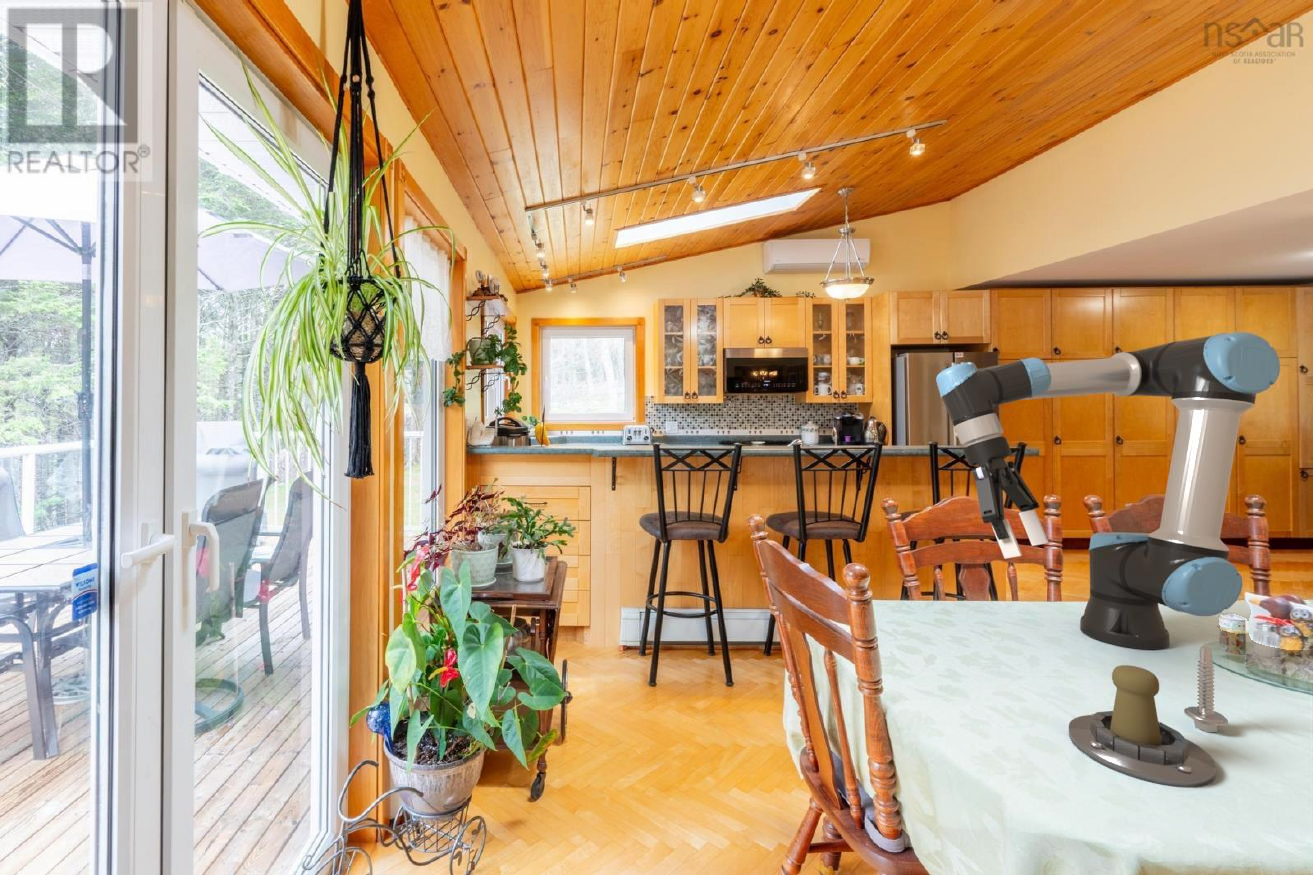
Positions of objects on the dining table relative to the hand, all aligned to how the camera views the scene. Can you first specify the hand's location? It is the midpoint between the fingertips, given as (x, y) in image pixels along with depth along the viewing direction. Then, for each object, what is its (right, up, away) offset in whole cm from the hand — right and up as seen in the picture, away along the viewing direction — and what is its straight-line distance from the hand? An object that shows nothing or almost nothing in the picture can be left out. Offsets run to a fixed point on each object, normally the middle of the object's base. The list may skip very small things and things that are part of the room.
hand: (1027, 550), depth 102 cm
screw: (+17, -25, -16) cm, 34 cm away
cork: (+1, -24, -22) cm, 32 cm away
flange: (+2, -25, -22) cm, 33 cm away
